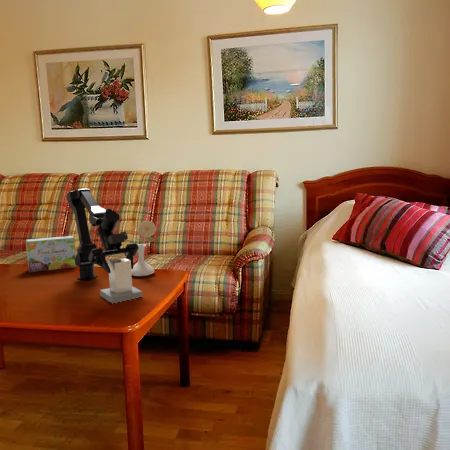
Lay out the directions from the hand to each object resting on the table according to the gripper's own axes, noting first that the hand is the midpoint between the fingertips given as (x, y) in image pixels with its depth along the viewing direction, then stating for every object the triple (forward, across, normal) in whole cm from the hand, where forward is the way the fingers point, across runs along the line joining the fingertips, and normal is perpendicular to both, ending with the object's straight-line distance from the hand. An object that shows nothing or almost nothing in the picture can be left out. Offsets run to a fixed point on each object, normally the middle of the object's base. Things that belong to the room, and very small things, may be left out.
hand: (121, 270), depth 167 cm
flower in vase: (-9, +22, +24) cm, 34 cm away
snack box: (-36, -7, +52) cm, 64 cm away
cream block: (+5, 0, +7) cm, 8 cm away
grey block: (+7, 0, +9) cm, 11 cm away
